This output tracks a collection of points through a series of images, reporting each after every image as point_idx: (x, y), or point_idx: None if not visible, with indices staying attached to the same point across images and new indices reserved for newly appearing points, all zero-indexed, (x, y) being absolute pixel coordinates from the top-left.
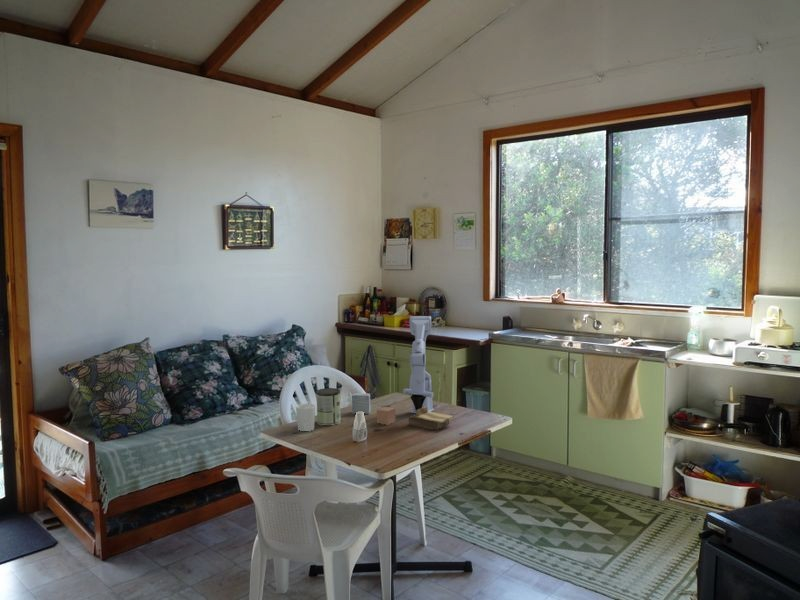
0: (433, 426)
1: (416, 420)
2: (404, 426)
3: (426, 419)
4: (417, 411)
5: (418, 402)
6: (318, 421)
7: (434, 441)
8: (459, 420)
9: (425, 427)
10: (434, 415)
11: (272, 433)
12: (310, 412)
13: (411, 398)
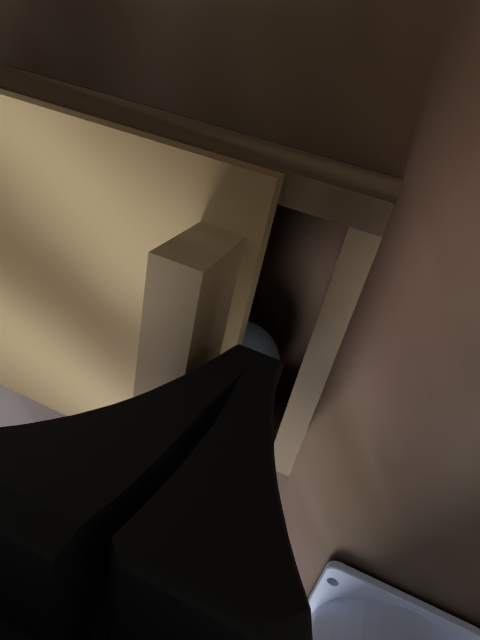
0: (4, 71)
1: (238, 149)
2: (454, 68)
3: (39, 101)
4: (184, 252)
5: (94, 420)
6: None
7: None
8: (13, 422)
9: (133, 102)
10: (30, 302)
11: None
12: None
13: (269, 583)
